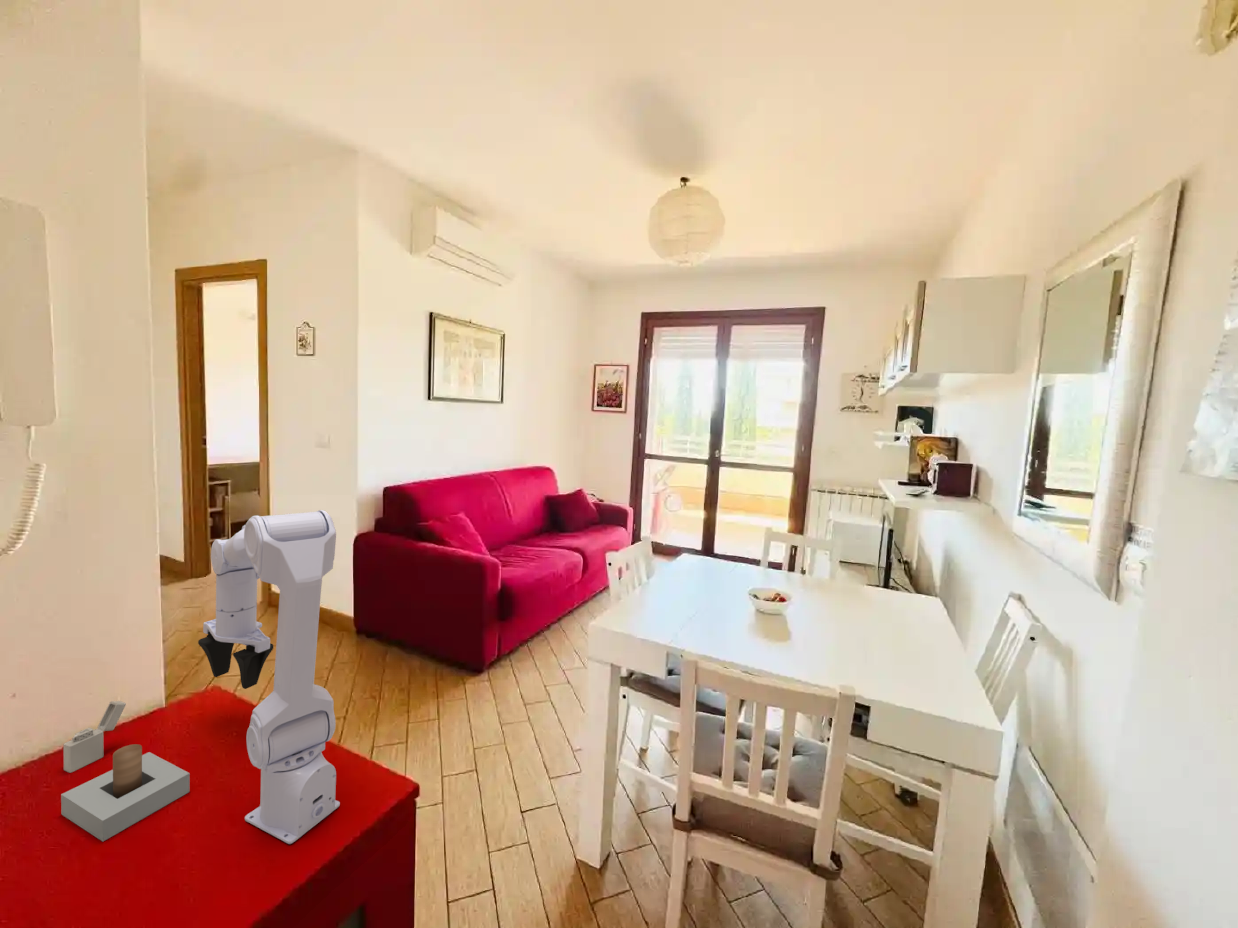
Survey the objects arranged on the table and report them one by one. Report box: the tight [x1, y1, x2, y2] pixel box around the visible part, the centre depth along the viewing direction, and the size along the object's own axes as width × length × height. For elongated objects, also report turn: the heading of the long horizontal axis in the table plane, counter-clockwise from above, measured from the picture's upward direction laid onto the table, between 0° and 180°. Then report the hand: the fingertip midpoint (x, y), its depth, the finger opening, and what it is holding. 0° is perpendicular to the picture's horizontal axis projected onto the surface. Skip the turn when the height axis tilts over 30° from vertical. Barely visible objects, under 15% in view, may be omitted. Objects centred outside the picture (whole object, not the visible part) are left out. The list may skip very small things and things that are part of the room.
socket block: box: [60, 751, 191, 842], centre depth 73 cm, size 10×10×3 cm
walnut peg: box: [112, 743, 143, 799], centre depth 73 cm, size 3×3×8 cm
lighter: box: [63, 700, 127, 773], centre depth 81 cm, size 7×2×8 cm, turn 163°
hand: (235, 679), depth 90 cm, fingers open, 7 cm apart
